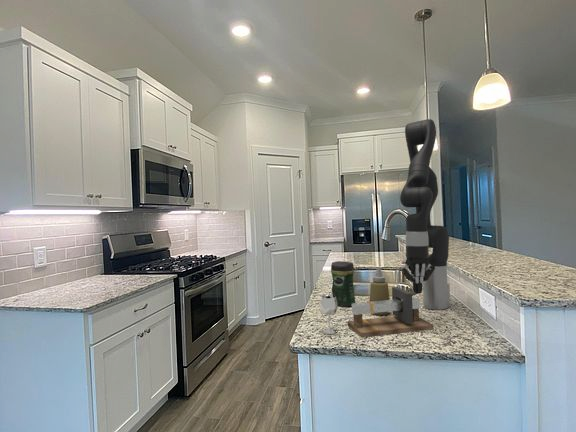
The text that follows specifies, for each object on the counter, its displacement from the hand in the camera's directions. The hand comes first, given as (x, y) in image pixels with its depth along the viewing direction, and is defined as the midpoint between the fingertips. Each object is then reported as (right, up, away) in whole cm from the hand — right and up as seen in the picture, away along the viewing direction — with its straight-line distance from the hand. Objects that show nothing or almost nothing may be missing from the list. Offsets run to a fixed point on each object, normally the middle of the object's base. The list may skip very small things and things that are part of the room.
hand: (417, 293), depth 122 cm
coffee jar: (-22, -11, +27) cm, 37 cm away
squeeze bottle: (-10, -11, +13) cm, 20 cm away
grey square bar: (-12, -6, -2) cm, 13 cm away
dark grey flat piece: (-6, -9, -1) cm, 10 cm away
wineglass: (-32, -12, -4) cm, 34 cm away
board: (-11, -11, -2) cm, 16 cm away
